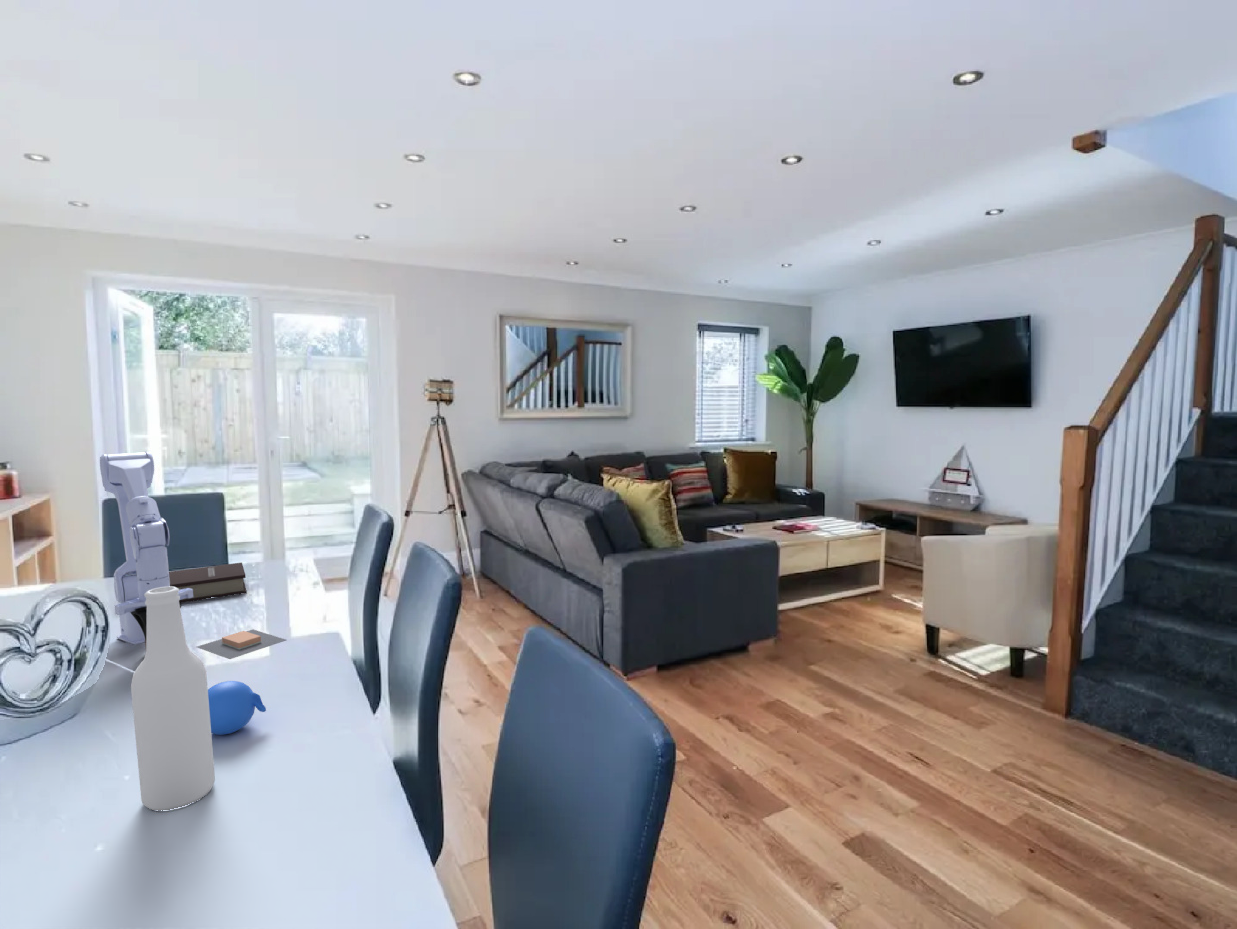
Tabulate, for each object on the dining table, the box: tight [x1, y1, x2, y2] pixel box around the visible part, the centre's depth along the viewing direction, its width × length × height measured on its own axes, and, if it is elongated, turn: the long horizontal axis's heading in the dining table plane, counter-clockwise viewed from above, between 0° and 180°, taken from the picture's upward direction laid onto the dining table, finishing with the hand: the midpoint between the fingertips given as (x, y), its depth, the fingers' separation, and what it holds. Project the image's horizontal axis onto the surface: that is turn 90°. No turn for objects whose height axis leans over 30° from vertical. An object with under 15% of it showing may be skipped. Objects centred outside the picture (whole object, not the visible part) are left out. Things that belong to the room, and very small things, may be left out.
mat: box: [196, 629, 287, 660], centre depth 154 cm, size 14×13×1 cm
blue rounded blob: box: [208, 680, 267, 736], centre depth 116 cm, size 12×12×8 cm
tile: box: [221, 630, 261, 650], centre depth 154 cm, size 2×5×7 cm
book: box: [169, 562, 248, 604], centre depth 196 cm, size 28×20×6 cm
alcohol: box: [130, 586, 216, 811], centre depth 94 cm, size 9×9×30 cm
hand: (158, 637), depth 148 cm, fingers closed on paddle, 3 cm apart
